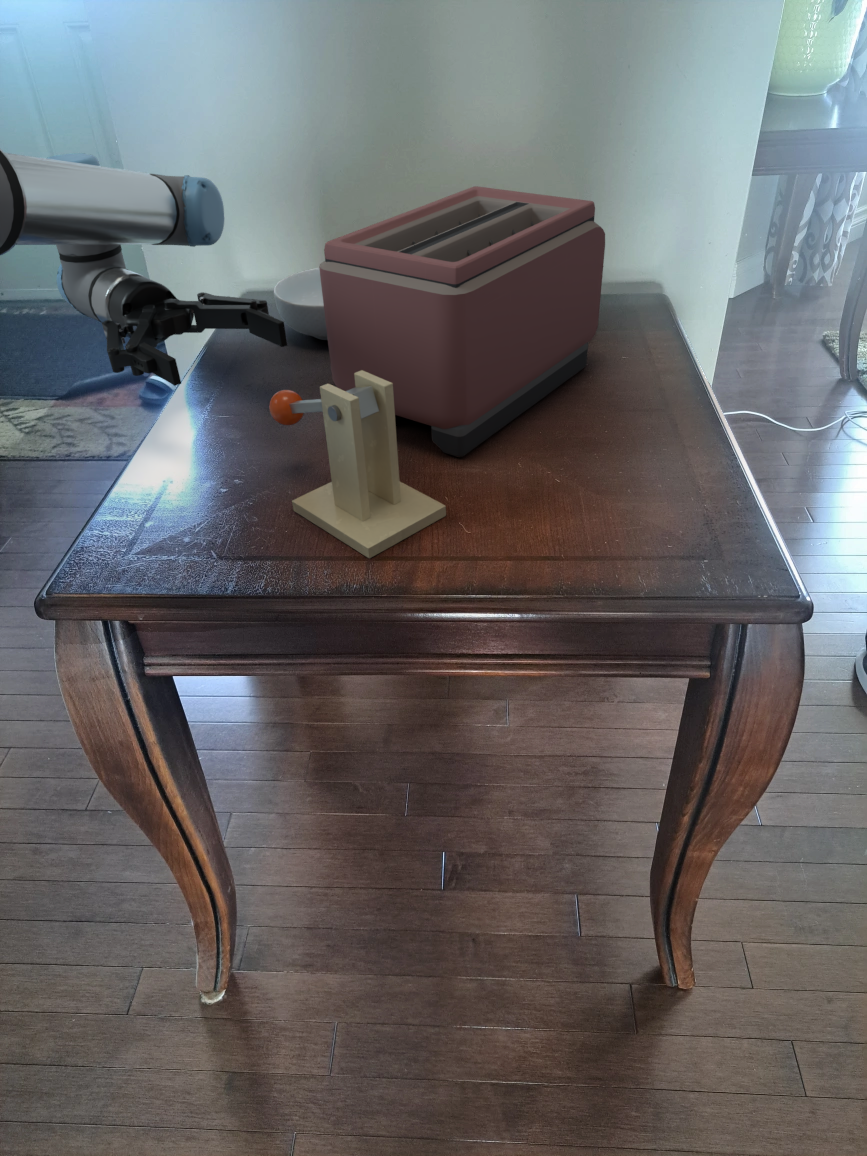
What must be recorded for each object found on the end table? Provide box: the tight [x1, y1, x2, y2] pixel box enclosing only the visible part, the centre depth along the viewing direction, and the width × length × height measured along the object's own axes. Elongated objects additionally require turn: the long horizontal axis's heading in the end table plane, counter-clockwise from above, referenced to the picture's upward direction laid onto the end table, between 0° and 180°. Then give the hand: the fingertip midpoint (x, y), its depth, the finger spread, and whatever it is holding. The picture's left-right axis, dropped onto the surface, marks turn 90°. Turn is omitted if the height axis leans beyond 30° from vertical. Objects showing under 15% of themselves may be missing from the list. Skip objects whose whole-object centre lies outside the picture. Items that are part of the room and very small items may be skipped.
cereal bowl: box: [273, 267, 328, 341], centre depth 121 cm, size 17×17×7 cm
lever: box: [268, 386, 379, 426], centre depth 81 cm, size 16×4×4 cm, turn 44°
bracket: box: [291, 370, 447, 559], centre depth 79 cm, size 12×10×14 cm
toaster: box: [318, 185, 606, 458], centre depth 99 cm, size 19×36×21 cm, turn 144°
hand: (231, 352), depth 89 cm, fingers open, 13 cm apart
